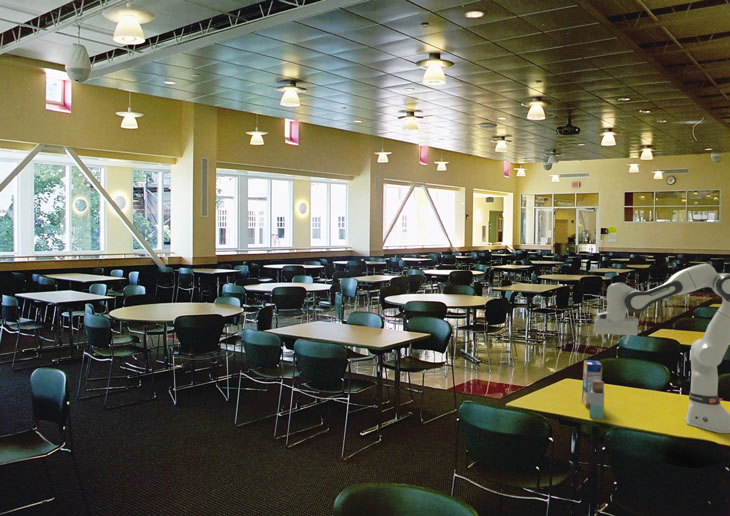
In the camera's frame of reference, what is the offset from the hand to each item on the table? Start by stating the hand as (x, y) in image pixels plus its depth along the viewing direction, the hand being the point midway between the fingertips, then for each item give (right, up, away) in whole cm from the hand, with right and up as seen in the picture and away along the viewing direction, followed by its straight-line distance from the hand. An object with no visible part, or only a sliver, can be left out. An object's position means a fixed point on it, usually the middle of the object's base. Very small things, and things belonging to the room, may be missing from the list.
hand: (614, 343), depth 306 cm
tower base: (-12, -34, -8) cm, 37 cm away
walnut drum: (-12, -22, -9) cm, 26 cm away
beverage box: (-8, -33, +11) cm, 36 cm away
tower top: (-12, -28, -9) cm, 32 cm away
